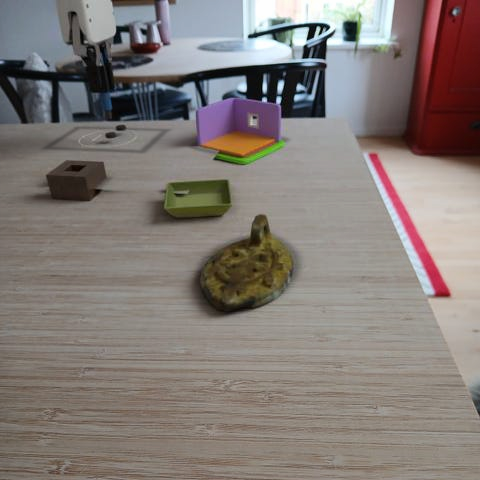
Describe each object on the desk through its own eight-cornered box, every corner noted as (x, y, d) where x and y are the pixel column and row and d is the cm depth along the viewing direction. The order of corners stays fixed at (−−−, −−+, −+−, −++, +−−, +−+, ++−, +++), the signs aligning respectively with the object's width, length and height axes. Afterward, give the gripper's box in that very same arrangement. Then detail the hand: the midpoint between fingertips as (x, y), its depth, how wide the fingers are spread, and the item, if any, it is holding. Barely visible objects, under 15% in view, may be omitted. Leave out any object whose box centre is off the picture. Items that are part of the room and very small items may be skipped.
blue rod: (102, 119, 87) (89, 54, 81) (106, 117, 88) (94, 52, 82) (111, 119, 86) (99, 54, 80) (115, 117, 88) (103, 52, 82)
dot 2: (114, 130, 92) (113, 127, 92) (118, 127, 93) (117, 124, 93) (123, 131, 92) (123, 127, 91) (127, 128, 93) (127, 124, 93)
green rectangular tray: (230, 192, 73) (229, 178, 71) (233, 219, 66) (233, 203, 64) (168, 196, 72) (166, 182, 71) (165, 223, 65) (163, 208, 64)
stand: (51, 198, 73) (45, 174, 71) (71, 182, 78) (66, 160, 76) (90, 201, 72) (85, 176, 70) (108, 184, 77) (103, 161, 75)
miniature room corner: (233, 133, 94) (232, 94, 90) (287, 144, 88) (288, 102, 84) (189, 152, 87) (185, 110, 83) (244, 165, 81) (243, 120, 77)
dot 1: (104, 138, 89) (103, 135, 88) (108, 135, 90) (107, 131, 90) (113, 138, 88) (113, 135, 88) (117, 135, 90) (117, 132, 89)
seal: (276, 330, 48) (300, 251, 60) (282, 289, 45) (306, 215, 57) (182, 310, 50) (223, 237, 61) (182, 269, 47) (225, 200, 58)
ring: (47, 153, 89) (45, 147, 89) (78, 132, 99) (77, 126, 98) (143, 157, 86) (142, 150, 85) (167, 135, 95) (166, 129, 95)
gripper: (78, -47, 80) (102, 80, 91) (24, -43, 68) (59, 103, 79) (123, -49, 79) (142, 80, 90) (75, -46, 67) (104, 103, 78)
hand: (103, 90), depth 84 cm, fingers closed on blue rod, 1 cm apart
